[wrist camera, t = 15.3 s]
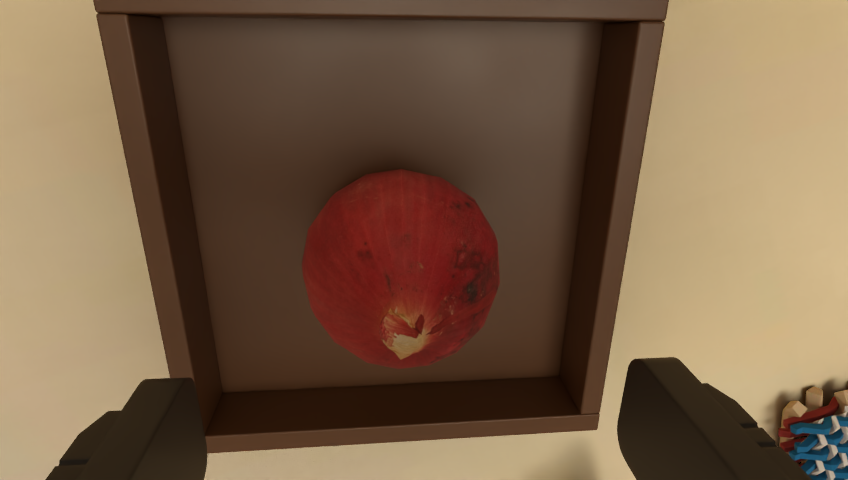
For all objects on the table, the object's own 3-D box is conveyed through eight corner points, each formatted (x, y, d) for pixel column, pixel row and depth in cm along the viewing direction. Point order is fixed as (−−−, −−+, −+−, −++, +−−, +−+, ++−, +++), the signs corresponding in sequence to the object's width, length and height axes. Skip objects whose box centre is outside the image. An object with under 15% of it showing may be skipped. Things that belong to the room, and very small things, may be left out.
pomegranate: (467, 136, 18) (533, 206, 11) (481, 282, 20) (543, 425, 13) (301, 159, 18) (251, 247, 10) (332, 305, 20) (309, 463, 13)
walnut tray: (138, -12, 16) (87, -22, 13) (622, -3, 17) (671, -10, 15) (210, 399, 22) (185, 455, 19) (569, 381, 23) (597, 430, 20)
